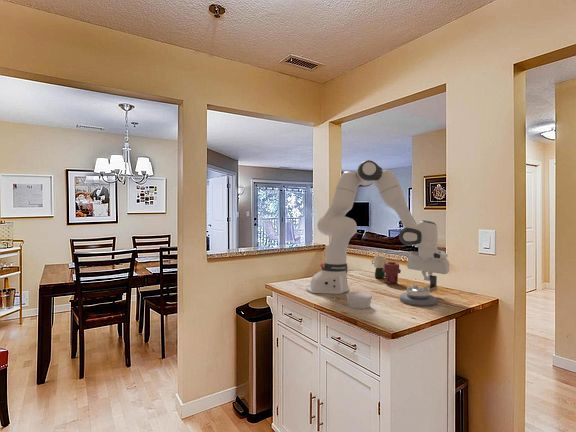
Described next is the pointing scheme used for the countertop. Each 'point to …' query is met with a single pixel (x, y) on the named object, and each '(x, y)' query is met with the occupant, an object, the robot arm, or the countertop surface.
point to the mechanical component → (391, 272)
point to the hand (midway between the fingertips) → (427, 280)
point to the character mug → (379, 266)
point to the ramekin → (359, 300)
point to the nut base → (418, 300)
